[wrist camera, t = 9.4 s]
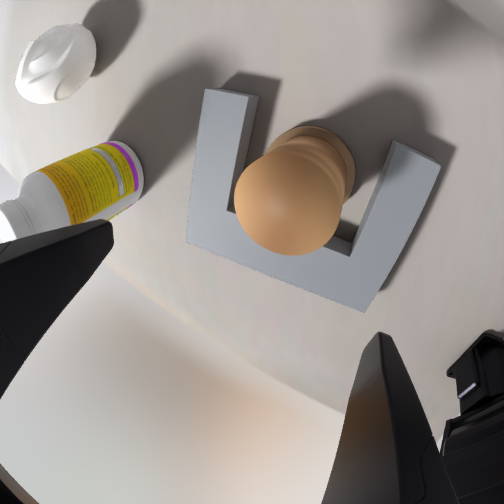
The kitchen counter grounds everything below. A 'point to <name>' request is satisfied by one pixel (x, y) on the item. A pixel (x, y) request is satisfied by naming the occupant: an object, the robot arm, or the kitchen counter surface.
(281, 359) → the kitchen counter surface
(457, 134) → the kitchen counter surface
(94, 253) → the robot arm
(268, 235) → the wooden drawer knob
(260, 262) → the notched board
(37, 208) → the supplement bottle
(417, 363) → the kitchen counter surface
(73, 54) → the white rounded piece
